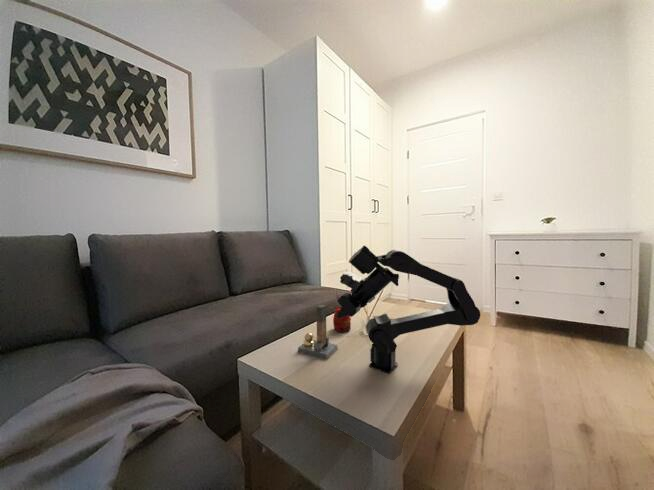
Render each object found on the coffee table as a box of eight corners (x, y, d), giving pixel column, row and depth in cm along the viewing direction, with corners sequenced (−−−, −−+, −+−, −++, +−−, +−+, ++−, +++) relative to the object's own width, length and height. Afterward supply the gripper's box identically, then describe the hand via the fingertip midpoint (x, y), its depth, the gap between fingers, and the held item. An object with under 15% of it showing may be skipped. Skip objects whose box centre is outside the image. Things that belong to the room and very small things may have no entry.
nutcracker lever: (326, 345, 85) (326, 305, 84) (322, 348, 82) (321, 307, 82) (321, 344, 86) (320, 304, 85) (316, 347, 83) (316, 306, 83)
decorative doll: (341, 334, 98) (340, 296, 97) (329, 329, 103) (329, 293, 103) (354, 329, 103) (354, 293, 102) (342, 324, 108) (342, 290, 108)
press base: (337, 349, 86) (337, 333, 85) (327, 359, 79) (326, 342, 79) (309, 342, 91) (309, 328, 91) (298, 351, 84) (297, 336, 84)
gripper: (366, 260, 85) (337, 289, 91) (343, 267, 69) (310, 302, 74) (389, 285, 82) (357, 313, 88) (371, 299, 65) (333, 332, 71)
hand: (340, 314), depth 80 cm, fingers open, 4 cm apart
